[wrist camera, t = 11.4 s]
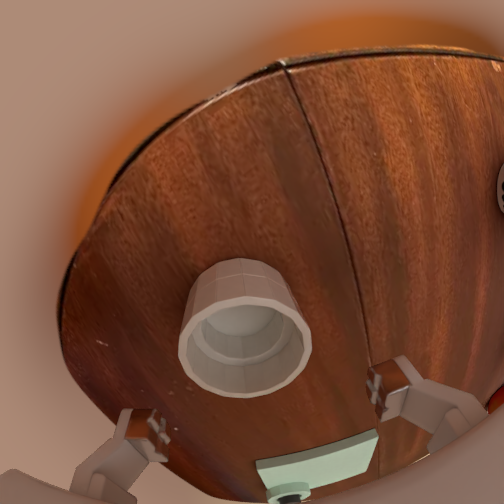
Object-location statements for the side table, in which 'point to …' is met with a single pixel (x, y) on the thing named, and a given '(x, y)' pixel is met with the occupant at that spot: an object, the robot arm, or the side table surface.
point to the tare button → (290, 499)
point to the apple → (496, 400)
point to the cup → (501, 188)
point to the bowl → (243, 330)
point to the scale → (316, 466)
